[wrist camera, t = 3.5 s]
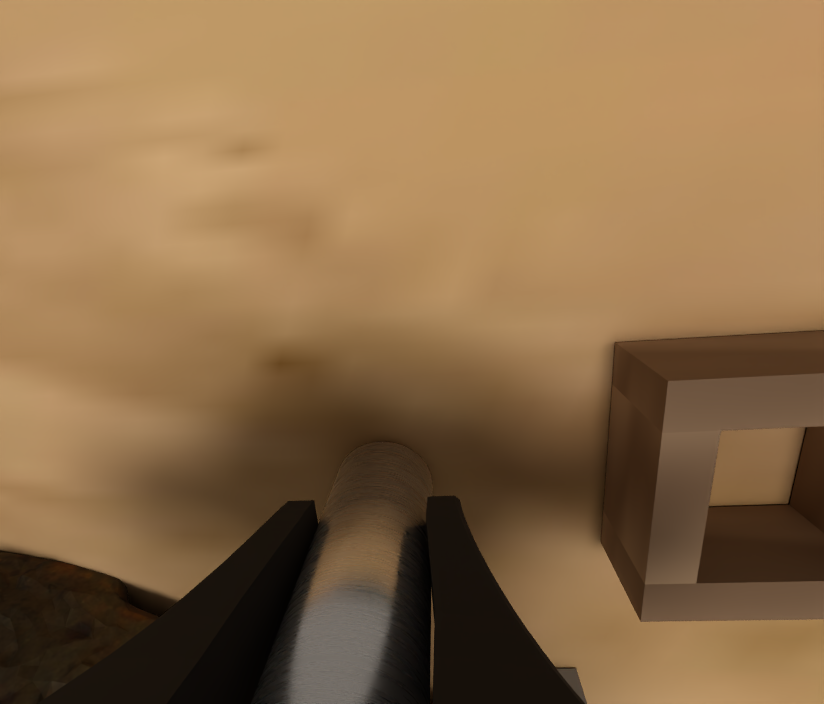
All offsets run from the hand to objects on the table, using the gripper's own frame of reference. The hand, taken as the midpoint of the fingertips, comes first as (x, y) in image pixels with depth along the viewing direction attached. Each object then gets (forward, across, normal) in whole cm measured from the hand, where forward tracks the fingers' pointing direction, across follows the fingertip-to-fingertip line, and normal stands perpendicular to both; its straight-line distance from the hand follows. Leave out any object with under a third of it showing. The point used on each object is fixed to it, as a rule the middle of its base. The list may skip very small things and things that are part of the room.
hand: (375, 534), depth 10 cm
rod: (+2, 0, 0) cm, 2 cm away
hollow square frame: (+2, -9, -1) cm, 9 cm away
